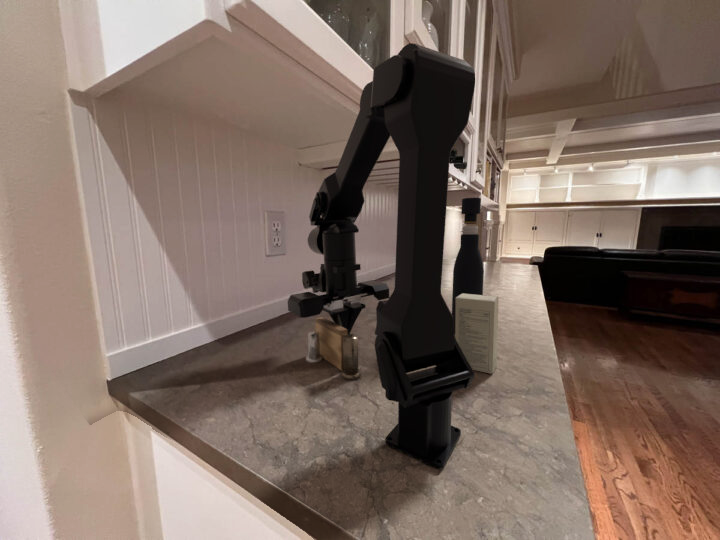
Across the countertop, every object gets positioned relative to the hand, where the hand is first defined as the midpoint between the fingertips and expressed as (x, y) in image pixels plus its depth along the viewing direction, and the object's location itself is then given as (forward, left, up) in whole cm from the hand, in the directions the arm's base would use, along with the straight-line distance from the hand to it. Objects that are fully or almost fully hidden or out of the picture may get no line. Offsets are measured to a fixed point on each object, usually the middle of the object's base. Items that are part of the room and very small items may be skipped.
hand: (343, 341), depth 54 cm
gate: (-3, 0, -3) cm, 4 cm away
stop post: (-5, +3, -3) cm, 6 cm away
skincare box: (+10, -21, -3) cm, 24 cm away
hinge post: (-5, -6, -3) cm, 8 cm away
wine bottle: (+26, -15, -3) cm, 30 cm away
